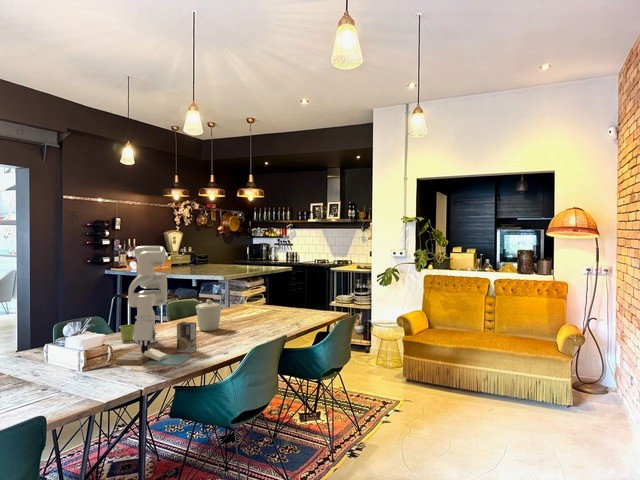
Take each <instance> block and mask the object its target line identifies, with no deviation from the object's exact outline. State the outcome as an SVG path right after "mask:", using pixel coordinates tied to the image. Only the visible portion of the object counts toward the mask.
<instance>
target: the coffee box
mask: <svg viewBox="0 0 640 480" xmlns="http://www.w3.org/2000/svg"><path fill="white" fill-rule="evenodd" d="M196 351H197V322H196V321H195V322H193V321H181V322H179V323H176V352H177V353H187V354H189V353H190V354H192V353H194V352H196Z"/></svg>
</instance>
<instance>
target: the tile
mask: <svg viewBox="0 0 640 480" xmlns="http://www.w3.org/2000/svg"><path fill="white" fill-rule="evenodd" d="M148 349H149V348H148ZM157 350H158V349H154V348H150V349H149V350H147V351H145V352H144V355H145V356H147V357H150V358H152V359H155V360H157V361H160V360H162V359H164V358H166V355H167V354H168V353H165V352H162V351H161V350H160V351H157ZM152 359H151V360H152Z"/></svg>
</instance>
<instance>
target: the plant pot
mask: <svg viewBox="0 0 640 480" xmlns="http://www.w3.org/2000/svg"><path fill="white" fill-rule="evenodd" d="M134 326H135V324H124V325H119V326H118V328H119V331H120V335H121V339H122V341H123V342H127V341H132V340H134Z"/></svg>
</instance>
